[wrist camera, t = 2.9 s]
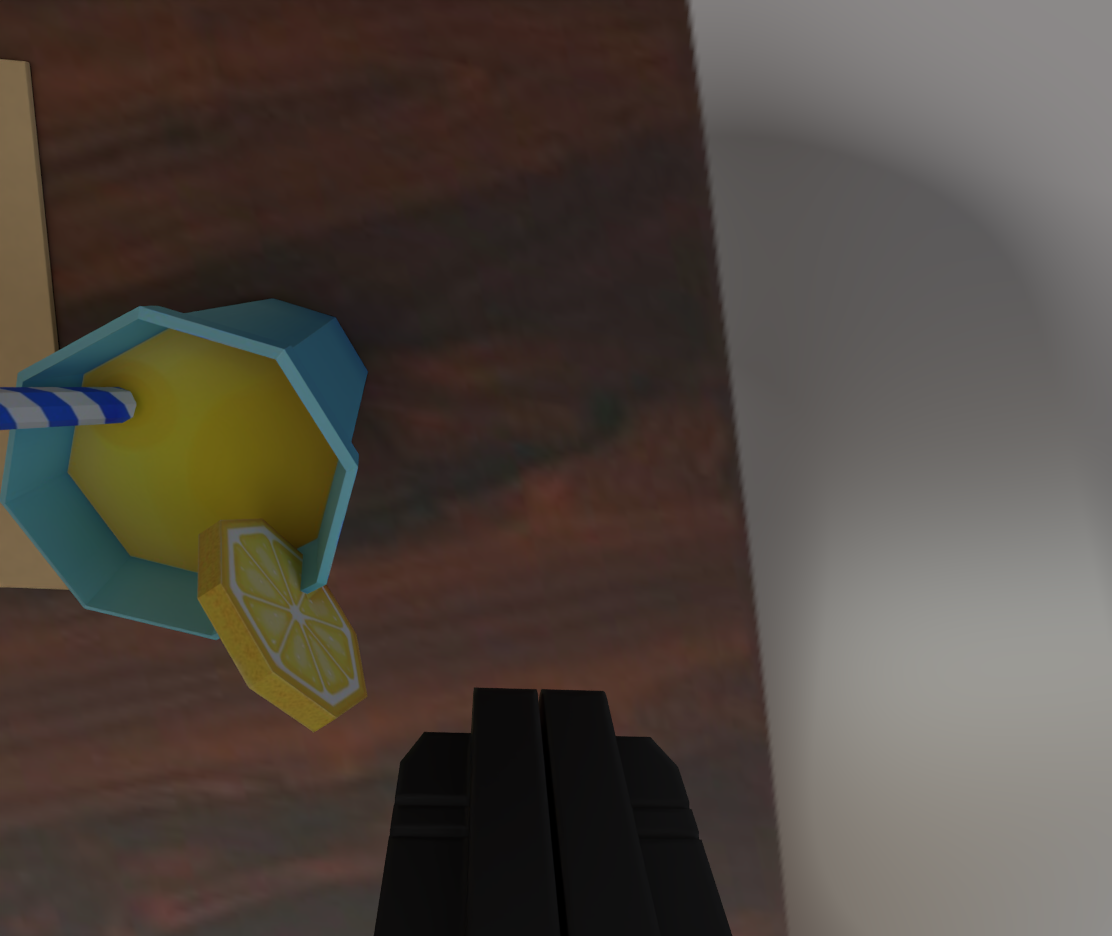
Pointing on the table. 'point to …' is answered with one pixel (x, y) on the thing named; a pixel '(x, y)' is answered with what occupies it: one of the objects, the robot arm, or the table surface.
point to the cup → (201, 484)
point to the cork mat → (22, 293)
